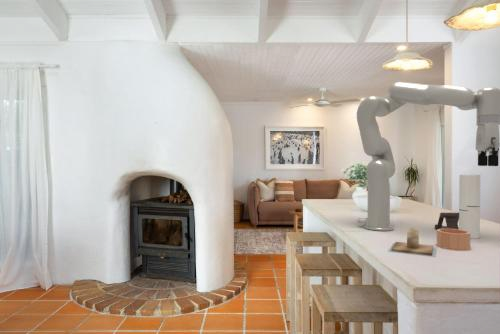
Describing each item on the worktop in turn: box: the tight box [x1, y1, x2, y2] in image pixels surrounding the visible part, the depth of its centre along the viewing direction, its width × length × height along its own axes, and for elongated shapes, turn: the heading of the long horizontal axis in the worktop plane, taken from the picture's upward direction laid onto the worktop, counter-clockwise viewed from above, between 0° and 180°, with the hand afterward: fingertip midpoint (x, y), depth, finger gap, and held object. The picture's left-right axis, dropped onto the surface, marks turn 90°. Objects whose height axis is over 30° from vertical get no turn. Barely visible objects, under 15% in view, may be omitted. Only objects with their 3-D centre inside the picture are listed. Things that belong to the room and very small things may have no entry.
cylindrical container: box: [458, 174, 481, 239], centre depth 142 cm, size 7×7×25 cm
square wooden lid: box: [391, 228, 434, 257], centre depth 119 cm, size 12×12×7 cm
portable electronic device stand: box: [434, 212, 459, 231], centre depth 154 cm, size 9×8×8 cm
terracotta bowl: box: [436, 229, 471, 252], centre depth 122 cm, size 10×10×6 cm
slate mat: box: [387, 242, 438, 258], centre depth 119 cm, size 14×14×1 cm
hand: (487, 165), depth 134 cm, fingers open, 9 cm apart
